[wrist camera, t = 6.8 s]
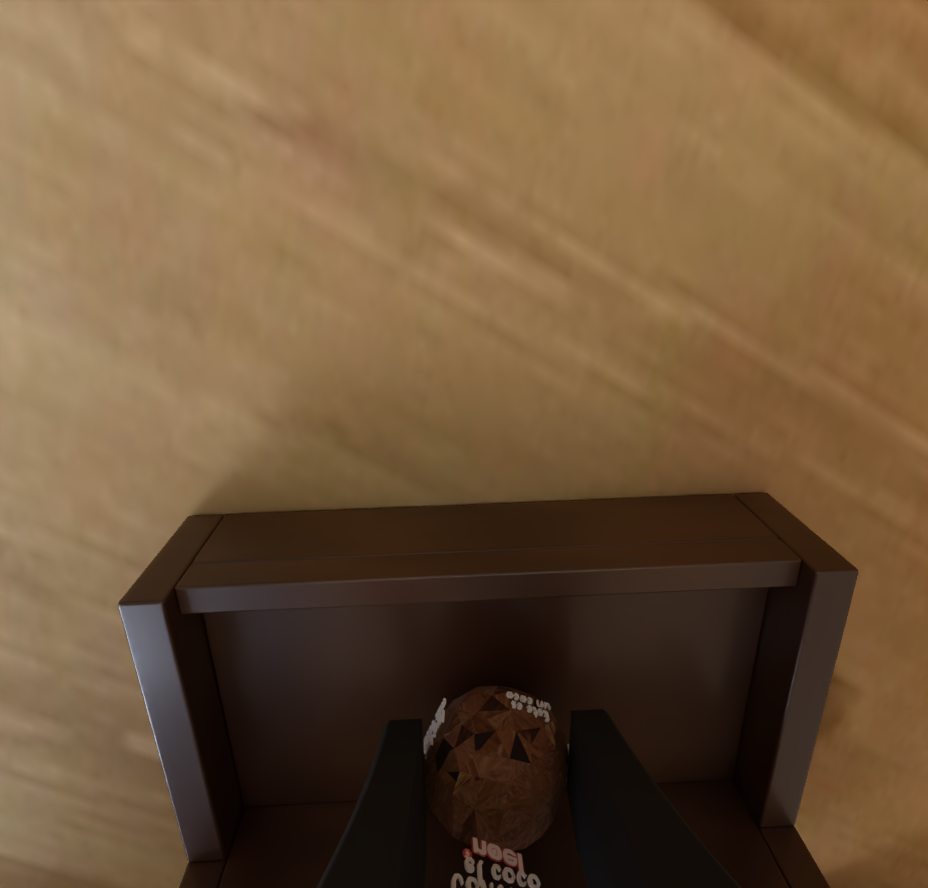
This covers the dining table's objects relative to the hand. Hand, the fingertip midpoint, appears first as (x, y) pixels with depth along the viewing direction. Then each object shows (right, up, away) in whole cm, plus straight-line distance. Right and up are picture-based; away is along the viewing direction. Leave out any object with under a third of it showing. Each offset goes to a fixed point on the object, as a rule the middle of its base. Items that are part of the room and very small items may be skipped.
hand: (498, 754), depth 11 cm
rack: (0, -1, +4) cm, 5 cm away
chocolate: (0, +1, +2) cm, 2 cm away
